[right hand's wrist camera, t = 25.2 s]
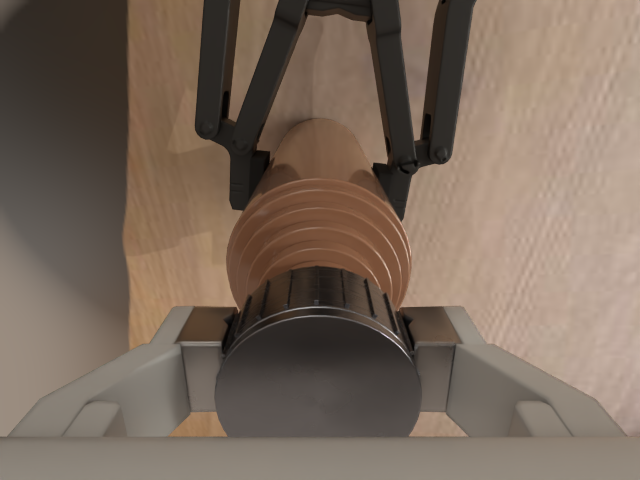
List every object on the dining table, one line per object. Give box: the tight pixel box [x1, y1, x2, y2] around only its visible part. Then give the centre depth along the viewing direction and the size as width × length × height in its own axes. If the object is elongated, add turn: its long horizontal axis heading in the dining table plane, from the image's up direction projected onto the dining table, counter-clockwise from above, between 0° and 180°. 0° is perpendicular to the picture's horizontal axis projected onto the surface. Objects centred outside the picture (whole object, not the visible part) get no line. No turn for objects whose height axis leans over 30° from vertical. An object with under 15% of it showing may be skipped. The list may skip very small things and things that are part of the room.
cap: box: [214, 265, 422, 437], centre depth 9 cm, size 4×4×2 cm
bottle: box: [226, 118, 412, 311], centre depth 19 cm, size 6×6×23 cm
